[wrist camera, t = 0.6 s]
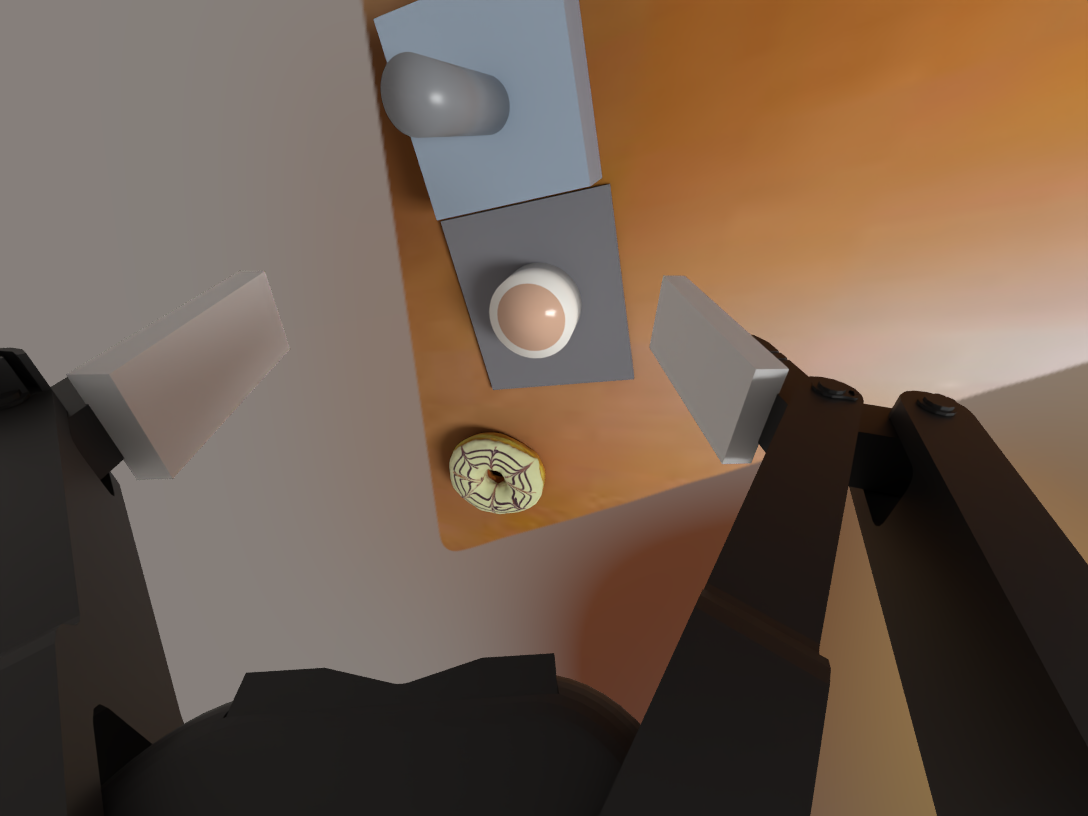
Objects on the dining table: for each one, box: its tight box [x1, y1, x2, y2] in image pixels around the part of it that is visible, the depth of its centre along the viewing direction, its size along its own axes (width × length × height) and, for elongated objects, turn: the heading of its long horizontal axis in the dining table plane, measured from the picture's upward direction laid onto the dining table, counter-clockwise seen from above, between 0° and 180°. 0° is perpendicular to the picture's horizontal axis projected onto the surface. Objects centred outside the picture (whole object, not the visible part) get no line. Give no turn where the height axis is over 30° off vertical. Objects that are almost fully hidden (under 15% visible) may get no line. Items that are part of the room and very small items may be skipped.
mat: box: [441, 184, 634, 390], centre depth 37 cm, size 16×14×1 cm
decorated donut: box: [449, 432, 545, 514], centre depth 48 cm, size 10×11×4 cm
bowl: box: [489, 263, 582, 358], centre depth 36 cm, size 7×7×4 cm
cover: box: [374, 0, 602, 220], centre depth 24 cm, size 11×11×15 cm
